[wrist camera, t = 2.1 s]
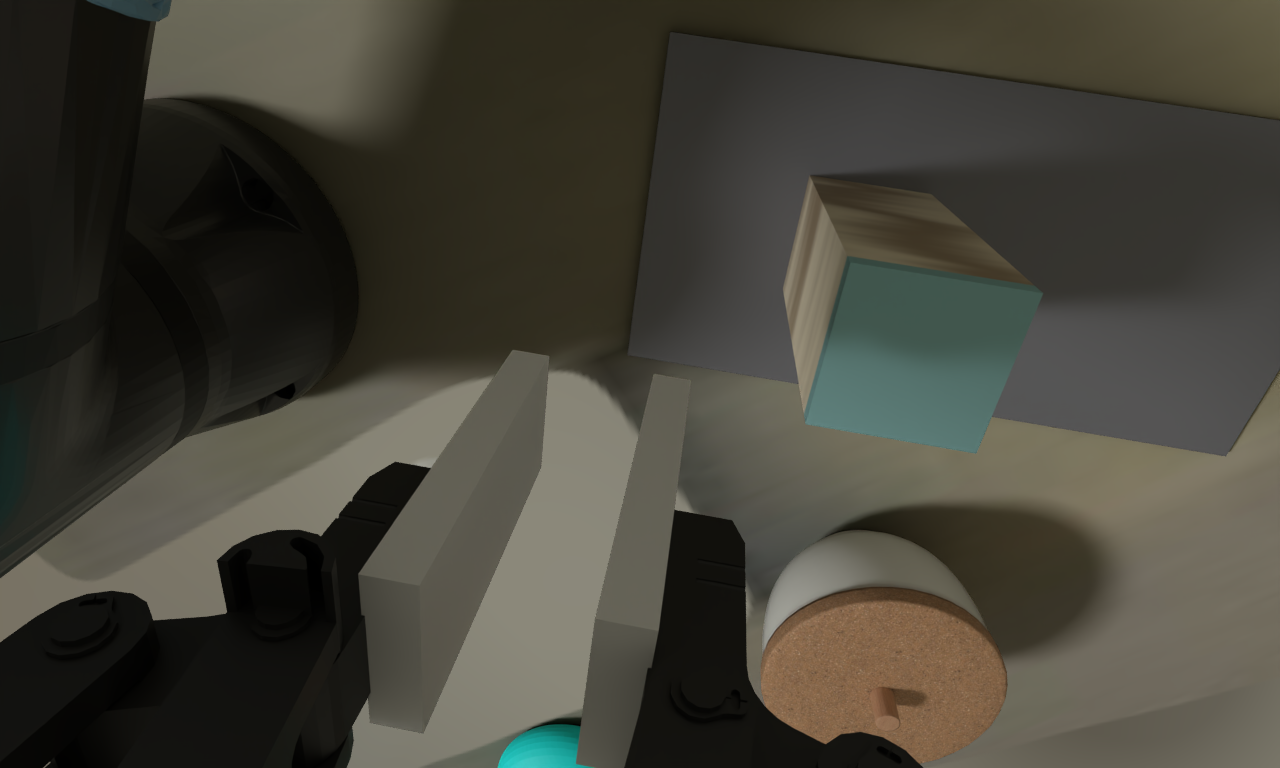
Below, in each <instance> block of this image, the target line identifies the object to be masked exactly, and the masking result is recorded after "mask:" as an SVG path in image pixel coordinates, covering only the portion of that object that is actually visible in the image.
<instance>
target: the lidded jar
mask: <svg viewBox="0 0 1280 768" xmlns="http://www.w3.org/2000/svg"><path fill="white" fill-rule="evenodd" d="M762 650H763V657H762V663H761V689H762V695H763V699H764V702H765V705H766V707H767V709H768V710H769V711H770V712H772V713H773V714H774V715H775V716H776V717H777V718H778V719H780V720H781V721H783V722H785V723H786V724H788V725H789V726H791V727H793V728H794V729H796V730H798V731H800V732H802V733H804V734H806V735H808V736H810V737H812V738H814V739H816V740H818V741H820V742H822V743H824V744H827V743H828V742H830V741H831V740H833V739H834V738H836V737H837V736H839V735H840V734H846V733H855V732H864V733H868V734H872V735H876V736H880V737H884V738H885V739H887V740H889V741H891V742H892V743H894V744H896V745H897V746H899V747H901V748H903V749H904V750H906V751H907V752H908V753H909V754H910V755H911V756H912V757H913V758H914V759H915V760H916V761H917V762H918V763H919V764H920V763H924V762H928V761H932V760H936V759H939V758H942V757H944V756H947V755H949V754H951V753H954V752H956V751H958V750H960V749H961V748H963V747H965V746H967V745H969V744H970V743H971V742H973V741H974V740H975V739H977V738H978V737H979V736H980V735H981V734H983V733H984V732H985V731H986V730H987V729H988V728H989V727H990V726H991V724H992V723H993V721H994V720H995V718H996V717H997V715H998V714H999V712H1000V710H1001V707H1002V705H1003V703H1004V700H1005V697H1006V691H1007V671H1006V668H1005V665H1004V662H1003V659H1002V656H1001V653H1000V651H999V649H998V647H997V645H996V643H995V641H994V640H993V638H992V636H991V635H990V633H989V631H988V630H987V627H986V625H985V623H984V621H983V619H982V616H981V614H980V612H979V610H978V609H977V607H976V605H975V604H974V602H973V600H972V599H971V597H970V595H969V594H968V592H967V591H966V589H965V587H964V586H963V585H962V583H961V582H960V581H959V580H958V579H957V577H956V576H955V575H954V574H953V573H952V572H951V570H950V569H949V568H948V567H947V566H946V565H945V564H944V563H943V562H941V561H940V560H939V559H938V558H936V557H935V556H934V555H933V554H931V553H930V552H929V551H928V550H926V549H924V548H922V547H921V546H919V545H917V544H915V543H913V542H911V541H909V540H906V539H904V538H901V537H898V536H896V535H891V534H887V533H883V532H875V531H869V530H848V531H842V532H838V533H834V534H832V535H829V536H827V537H825V538H823V539H822V540H819V541H817V542H815V543H813V544H812V545H810V546H808V547H806V548H805V549H804V550H803V551H801V552H800V553H799V554H798V555H796V556H795V557H794V558H793V559H792V561H791V562H790V563H789V564H788V565H787V566H786V567H785V568H784V570H783V571H782V573H781V575H780V576H779V578H778V579H777V581H776V583H775V585H774V587H773V590H772V592H771V595H770V598H769V601H768V605H767V608H766V614H765V620H764V627H763V641H762Z"/></svg>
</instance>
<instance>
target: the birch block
mask: <svg viewBox="0 0 1280 768" xmlns="http://www.w3.org/2000/svg"><path fill="white" fill-rule="evenodd" d="M783 293H784V299H785V305H786V311H787V317H788V323H789V329H790V334H791V340H792V346H793V352H794V358H795V364H796V370H797V376H798V382H799V388H800V394H801V399H802V405H803V411H804V417H805V423H806V424H807V425H813V426H819V427H825V428H831V429H837V430H842V431H848V432H854V433H860V434H866V435H871V436H877V437H883V438H889V439H895V440H900V441H906V442H912V443H918V444H924V445H930V446H935V447H941V448H947V449H953V450H959V451H964V452H970V453H977V450H978V448H979V446H980V443H981V441H982V439H983V436H984V434H985V431H986V429H987V427H988V424H989V422H990V419H991V417H992V415H993V412H994V410H995V408H996V405H997V403H998V400H999V398H1000V396H1001V393H1002V391H1003V388H1004V386H1005V384H1006V381H1007V379H1008V376H1009V374H1010V372H1011V369H1012V367H1013V365H1014V362H1015V360H1016V357H1017V355H1018V353H1019V350H1020V348H1021V345H1022V343H1023V341H1024V338H1025V336H1026V334H1027V331H1028V329H1029V326H1030V324H1031V322H1032V319H1033V317H1034V314H1035V312H1036V310H1037V307H1038V305H1039V303H1040V300H1041V298H1042V295H1043V293H1042V292H1041V291H1040V290H1039V289H1038V288H1037V287H1036V286H1034V285H1033V284H1032V283H1031V282H1030V281H1029V280H1028V279H1027V278H1025V277H1024V276H1023V275H1022V274H1021V273H1020V272H1019V271H1018V270H1016V269H1015V268H1014V267H1013V266H1012V265H1011V264H1010V263H1008V262H1007V261H1006V260H1005V259H1004V258H1003V257H1002V256H1001V255H999V254H998V253H997V252H996V251H995V250H994V249H993V248H992V247H990V246H989V245H988V244H987V243H986V242H985V241H984V240H983V239H981V238H980V237H979V236H978V235H977V234H976V233H975V232H973V231H972V230H971V229H970V228H969V227H968V226H967V225H966V224H964V223H963V222H962V221H961V220H960V219H959V218H958V217H957V216H955V215H954V214H953V213H952V212H951V211H950V210H949V209H948V208H946V207H945V206H944V205H943V204H942V203H941V202H940V201H938V200H937V199H936V198H935V197H934V196H933V195H932V194H927V193H921V192H914V191H908V190H902V189H895V188H889V187H882V186H876V185H869V184H863V183H856V182H850V181H843V180H837V179H830V178H824V177H817V176H811V175H809V180H808V184H807V188H806V192H805V197H804V201H803V205H802V209H801V214H800V218H799V222H798V226H797V231H796V235H795V239H794V243H793V248H792V252H791V256H790V260H789V265H788V269H787V273H786V277H785V282H784V286H783Z"/></svg>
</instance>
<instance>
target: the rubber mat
mask: <svg viewBox="0 0 1280 768" xmlns="http://www.w3.org/2000/svg"><path fill="white" fill-rule="evenodd" d="M809 175H811V176H817V177H824V178H830V179H837V180H843V181H850V182H856V183H863V184H869V185H876V186H882V187H889V188H895V189H902V190H908V191H914V192H921V193H927V194H932V195H933V196H934V197H935V198H936V199H937V200H938V201H940V202H941V203H942V204H943V205H944V206H945V207H946V208H948V209H949V210H950V211H951V212H952V213H953V214H954V215H955V216H957V217H958V218H959V219H960V220H961V221H962V222H963V223H964V224H966V225H967V226H968V227H969V228H970V229H971V230H972V231H973V232H975V233H976V234H977V235H978V236H979V237H980V238H981V239H983V240H984V241H985V242H986V243H987V244H988V245H989V246H990V247H992V248H993V249H994V250H995V251H996V252H997V253H998V254H999V255H1001V256H1002V257H1003V258H1004V259H1005V260H1006V261H1007V262H1008V263H1010V264H1011V265H1012V266H1013V267H1014V268H1015V269H1016V270H1018V271H1019V272H1020V273H1021V274H1022V275H1023V276H1024V277H1025V278H1027V279H1028V280H1029V281H1030V282H1031V283H1032V284H1033V285H1034V286H1036V287H1037V288H1038V289H1039V290H1040V291H1041V292H1042V293H1043V295H1042V298H1041V300H1040V303H1039V305H1038V307H1037V310H1036V312H1035V314H1034V317H1033V319H1032V322H1031V324H1030V326H1029V329H1028V331H1027V334H1026V336H1025V338H1024V341H1023V343H1022V345H1021V348H1020V350H1019V353H1018V355H1017V357H1016V360H1015V362H1014V365H1013V367H1012V369H1011V372H1010V374H1009V376H1008V379H1007V381H1006V384H1005V386H1004V388H1003V391H1002V393H1001V396H1000V398H999V400H998V403H997V405H996V408H995V410H994V412H993V415H992V417H996V418H1002V419H1008V420H1014V421H1020V422H1026V423H1032V424H1038V425H1044V426H1050V427H1055V428H1061V429H1067V430H1073V431H1079V432H1085V433H1091V434H1097V435H1103V436H1109V437H1115V438H1120V439H1126V440H1132V441H1138V442H1144V443H1150V444H1156V445H1162V446H1168V447H1174V448H1180V449H1185V450H1191V451H1197V452H1203V453H1209V454H1215V455H1221V456H1226V455H1227V454H1228V452H1229V450H1230V449H1231V447H1232V446H1233V444H1234V442H1235V441H1236V439H1237V438H1238V436H1239V434H1240V433H1241V431H1242V429H1243V428H1244V426H1245V425H1246V423H1247V421H1248V420H1249V418H1250V416H1251V415H1252V413H1253V412H1254V410H1255V408H1256V407H1257V405H1258V404H1259V402H1260V400H1261V399H1262V397H1263V395H1264V394H1265V392H1266V391H1267V389H1268V387H1269V386H1270V384H1271V383H1272V381H1273V379H1274V378H1275V376H1276V374H1277V373H1278V371H1279V370H1280V120H1274V119H1267V118H1260V117H1253V116H1246V115H1239V114H1232V113H1226V112H1219V111H1212V110H1205V109H1198V108H1191V107H1184V106H1177V105H1171V104H1164V103H1157V102H1150V101H1143V100H1136V99H1129V98H1123V97H1116V96H1109V95H1102V94H1095V93H1088V92H1081V91H1074V90H1068V89H1061V88H1054V87H1047V86H1040V85H1033V84H1026V83H1019V82H1013V81H1006V80H999V79H992V78H985V77H978V76H971V75H964V74H958V73H951V72H944V71H937V70H930V69H923V68H916V67H909V66H903V65H896V64H889V63H882V62H875V61H868V60H861V59H854V58H848V57H841V56H834V55H827V54H820V53H813V52H806V51H799V50H793V49H786V48H779V47H772V46H765V45H758V44H751V43H745V42H738V41H731V40H724V39H717V38H710V37H703V36H696V35H690V34H683V33H676V32H670V36H669V44H668V51H667V59H666V67H665V74H664V82H663V89H662V97H661V105H660V112H659V120H658V127H657V135H656V142H655V150H654V158H653V165H652V173H651V180H650V188H649V196H648V203H647V211H646V218H645V226H644V233H643V241H642V249H641V256H640V264H639V271H638V279H637V287H636V294H635V302H634V309H633V317H632V324H631V332H630V340H629V347H628V355H630V356H636V357H642V358H648V359H654V360H660V361H665V362H671V363H677V364H683V365H689V366H695V367H701V368H707V369H713V370H719V371H725V372H730V373H736V374H742V375H748V376H754V377H760V378H766V379H772V380H778V381H784V382H790V383H795V384H799V382H798V376H797V370H796V364H795V358H794V352H793V346H792V340H791V334H790V329H789V323H788V317H787V311H786V305H785V299H784V293H783V286H784V282H785V277H786V273H787V269H788V265H789V260H790V256H791V252H792V248H793V243H794V239H795V235H796V231H797V226H798V222H799V218H800V214H801V209H802V205H803V201H804V197H805V192H806V188H807V184H808V180H809Z"/></svg>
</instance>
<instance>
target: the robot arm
mask: <svg viewBox="0 0 1280 768" xmlns="http://www.w3.org/2000/svg"><path fill="white" fill-rule="evenodd" d="M171 1H172V0H0V578H1V577H3V576H4V575H5V574H7V573H8V572H9V571H11V570H12V569H13V568H14V567H16V566H17V565H18V564H20V563H21V562H22V561H24V560H25V559H26V558H28V557H29V556H30V555H32V554H33V553H34V552H35V551H37V550H38V549H39V548H41V547H42V546H43V545H45V544H46V543H47V542H49V541H50V540H51V539H53V538H54V537H55V536H56V535H58V534H59V533H60V532H62V531H63V530H64V529H66V528H67V527H68V526H70V525H71V524H72V523H74V522H75V521H76V520H77V519H79V518H80V517H81V516H83V515H84V514H85V513H87V512H88V511H89V510H91V509H92V508H93V507H95V506H96V505H97V504H98V503H100V502H101V501H102V500H104V499H105V498H106V497H108V496H109V495H110V494H112V493H113V492H114V491H115V490H117V489H118V488H119V487H121V486H122V485H123V484H125V483H126V482H127V481H129V480H130V479H131V478H133V477H134V476H135V475H136V474H138V473H139V472H140V471H142V470H143V469H144V468H146V467H147V466H148V465H150V464H151V463H152V462H154V461H155V460H156V459H157V458H158V457H160V456H161V455H162V454H164V453H165V452H166V451H168V450H169V449H170V448H172V447H173V446H174V445H176V444H177V443H178V442H180V441H181V440H183V439H184V438H185V437H189V436H192V435H196V434H199V433H203V432H206V431H209V430H213V429H216V428H220V427H223V426H226V425H230V424H233V423H237V422H240V421H244V420H247V419H250V418H254V417H257V416H261V415H264V414H267V413H270V412H273V411H275V410H278V409H280V408H282V407H284V406H286V405H288V404H290V403H292V402H293V401H295V400H296V399H298V398H299V397H301V396H302V395H304V394H305V393H306V392H307V391H308V390H310V389H311V388H312V387H313V386H314V385H315V384H317V383H318V382H319V381H320V380H321V379H323V378H324V377H325V376H326V375H327V374H328V373H329V372H330V371H331V370H332V369H333V368H334V367H335V366H336V364H337V363H338V362H339V361H340V359H341V358H342V356H343V355H344V353H345V351H346V349H347V347H348V345H349V343H350V340H351V338H352V335H353V332H354V328H355V324H356V319H357V311H358V284H357V276H356V270H355V265H354V261H353V257H352V253H351V250H350V247H349V244H348V241H347V239H346V236H345V234H344V231H343V229H342V227H341V225H340V223H339V221H338V219H337V217H336V215H335V213H334V211H333V209H332V208H331V206H330V205H329V203H328V201H327V200H326V198H325V197H324V195H323V194H322V192H321V191H320V190H319V188H318V187H317V185H316V184H315V183H314V182H313V180H312V179H311V178H310V177H309V175H308V174H307V173H306V172H305V171H304V170H303V169H302V168H301V167H300V165H299V164H298V163H297V162H296V161H295V160H294V159H293V158H292V157H290V156H289V155H288V154H287V153H286V152H285V151H284V150H283V149H282V148H280V147H279V146H278V145H277V144H276V143H274V142H273V141H272V140H270V139H269V138H268V137H266V136H265V135H264V134H262V133H261V132H259V131H258V130H256V129H255V128H253V127H251V126H250V125H248V124H246V123H245V122H243V121H241V120H239V119H237V118H235V117H233V116H231V115H229V114H226V113H224V112H222V111H219V110H216V109H214V108H211V107H208V106H205V105H201V104H197V103H193V102H188V101H183V100H175V99H146V100H144V95H145V88H146V81H147V74H148V67H149V61H150V55H151V49H152V43H153V37H154V31H155V25H156V21H158V22H159V21H160V20H161V19H163V18H165V17H167V16H168V14H169V11H170V6H171ZM548 368H549V356H547V355H541V354H535V353H529V352H523V351H517V350H512V351H511V353H510V354H509V356H508V357H507V359H506V360H505V362H504V363H503V365H502V366H501V367H500V369H499V370H498V372H497V373H496V375H495V376H494V378H493V379H492V381H491V382H490V383H489V385H488V386H487V388H486V389H485V391H484V392H483V394H482V395H481V396H480V398H479V400H478V401H477V402H476V404H475V405H474V407H473V408H472V410H471V411H470V413H469V414H468V415H467V417H466V418H465V420H464V421H463V423H462V424H461V426H460V427H459V429H458V430H457V431H456V433H455V434H454V436H453V437H452V439H451V440H450V442H449V443H448V444H447V446H446V447H445V449H444V450H443V452H442V453H441V455H440V456H439V458H438V459H437V460H436V462H435V463H434V465H433V466H432V468H427V467H421V466H416V465H410V464H404V463H399V462H394V463H392V464H391V465H389V466H387V467H386V468H384V469H382V470H381V471H379V472H377V473H375V474H374V475H372V476H370V477H369V478H368V479H367V480H366V482H365V483H364V484H363V485H362V487H361V488H360V489H359V490H358V491H357V493H356V494H355V495H354V497H353V500H352V502H351V501H350V502H349V503H348V504H347V505H346V506H345V508H344V509H343V510H342V511H341V512H340V514H339V518H338V519H337V518H336V519H335V520H334V521H333V522H332V524H331V525H330V526H329V527H328V528H327V530H326V531H325V532H324V533H323V535H322V536H319V535H318V534H314V533H310V532H306V531H302V530H276V531H272V532H268V533H263V534H259V535H255V536H252V537H250V538H248V539H246V540H245V541H242V542H240V543H238V544H236V545H234V546H233V547H231V548H230V549H229V550H228V551H227V552H226V553H225V554H224V555H222V556H221V557H220V558H219V559H218V560H217V563H218V568H219V573H220V578H221V583H222V588H223V593H224V598H225V602H226V608H227V613H226V614H221V615H215V616H209V617H196V618H182V619H168V620H155V621H153V619H152V615H151V613H150V610H149V607H148V605H147V602H145V601H144V600H142V599H140V598H139V597H137V596H136V595H134V594H131V593H124V592H116V591H107V592H99V593H91V594H86V595H83V596H80V597H77V598H74V599H71V600H68V601H65V602H62V603H59V604H58V605H56V606H54V607H52V608H51V609H49V610H47V611H45V612H44V613H42V614H40V615H38V616H37V617H35V618H34V619H32V620H31V621H29V622H28V623H27V624H25V625H24V626H22V627H21V628H20V629H18V630H17V631H15V632H14V633H13V634H11V635H10V636H9V637H7V638H6V639H4V640H3V641H2V642H0V768H43V767H44V766H45V765H46V764H47V763H48V762H51V763H50V764H49V765H48V766H46V767H45V768H347V765H348V763H349V760H350V757H351V752H352V746H353V741H354V740H353V730H352V726H353V724H354V722H355V720H356V718H357V716H358V715H359V713H360V711H361V709H362V707H363V705H364V704H365V702H366V700H367V698H368V703H369V715H370V723H373V724H378V725H383V726H388V727H393V728H398V729H403V730H408V731H413V732H418V733H424V731H425V728H426V726H427V724H428V722H429V720H430V717H431V715H432V713H433V711H434V708H435V706H436V704H437V702H438V699H439V697H440V695H441V693H442V690H443V688H444V685H445V683H446V681H447V679H448V676H449V674H450V672H451V670H452V668H453V665H454V663H455V661H456V659H457V656H458V654H459V652H460V649H461V647H462V645H463V643H464V640H465V638H466V636H467V634H468V631H469V629H470V627H471V625H472V622H473V620H474V618H475V616H476V613H477V611H478V609H479V606H480V604H481V602H482V600H483V598H484V595H485V593H486V591H487V588H488V586H489V584H490V582H491V579H492V577H493V575H494V573H495V570H496V568H497V566H498V564H499V561H500V559H501V557H502V555H503V552H504V550H505V547H506V546H507V543H508V541H509V539H510V536H511V534H512V532H513V530H514V527H515V525H516V523H517V520H518V518H519V516H520V514H521V512H522V509H523V507H524V505H525V503H526V500H527V498H528V496H529V494H530V491H531V489H532V487H533V484H534V482H535V480H536V478H537V475H538V473H539V471H540V469H541V462H542V449H543V435H544V422H545V408H546V395H547V381H548ZM690 385H691V380H688V379H682V378H676V377H670V376H664V375H658V374H654V375H653V379H652V383H651V387H650V391H649V396H648V400H647V404H646V408H645V412H644V416H643V421H642V425H641V429H640V433H639V437H638V442H637V446H636V450H635V454H634V458H633V462H632V467H631V471H630V475H629V479H628V483H627V488H626V492H625V496H624V500H623V504H622V509H621V513H620V517H619V521H618V525H617V529H616V534H615V538H614V542H613V546H612V550H611V554H610V559H609V563H608V567H607V571H606V575H605V580H604V584H603V588H602V593H601V596H600V600H599V605H598V609H597V613H596V617H595V623H594V631H593V638H592V646H591V653H590V661H589V668H588V676H587V683H586V691H585V698H584V705H583V713H582V720H581V728H580V735H579V743H578V750H577V758H576V764H579V765H584V766H589V767H594V768H923V767H922V766H921V765H920V764H919V763H918V762H917V761H916V760H915V759H914V758H913V757H912V756H911V755H910V754H909V753H908V752H907V751H906V750H904V749H903V748H901V747H899V746H897V745H896V744H894V743H892V742H891V741H889V740H887V739H885V738H884V737H880V736H876V735H872V734H868V733H864V732H855V733H846V734H840V735H839V736H837V737H836V738H834V739H833V740H831V741H830V742H828V743H827V744H824V743H822V742H820V741H818V740H816V739H814V738H812V737H810V736H808V735H806V734H804V733H802V732H800V731H798V730H796V729H794V728H793V727H791V726H789V725H788V724H786V723H785V722H783V721H781V720H780V719H778V718H777V717H776V716H775V715H774V714H773V713H772V712H770V711H769V710H768V709H767V708H766V707H765V706H764V705H763V703H762V702H761V701H760V699H759V698H758V697H757V695H756V694H755V692H754V690H753V688H752V685H751V683H750V681H749V678H748V671H747V657H746V592H745V587H746V586H745V542H744V541H743V539H742V537H741V535H740V534H739V532H738V530H737V528H736V526H735V525H734V523H733V521H732V520H727V519H722V518H716V517H711V516H705V515H700V514H694V513H689V512H683V511H677V510H674V508H675V501H676V493H677V485H678V478H679V470H680V462H681V455H682V447H683V439H684V432H685V424H686V416H687V408H688V401H689V393H690Z"/></svg>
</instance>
